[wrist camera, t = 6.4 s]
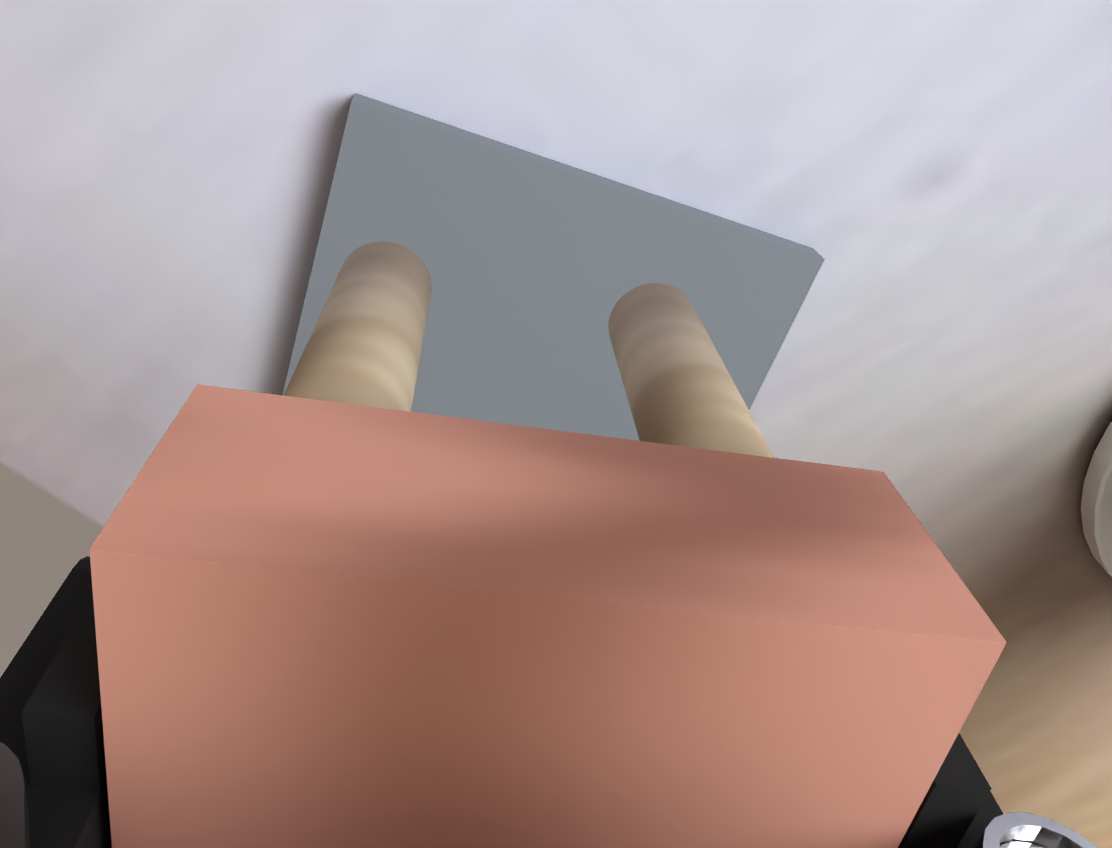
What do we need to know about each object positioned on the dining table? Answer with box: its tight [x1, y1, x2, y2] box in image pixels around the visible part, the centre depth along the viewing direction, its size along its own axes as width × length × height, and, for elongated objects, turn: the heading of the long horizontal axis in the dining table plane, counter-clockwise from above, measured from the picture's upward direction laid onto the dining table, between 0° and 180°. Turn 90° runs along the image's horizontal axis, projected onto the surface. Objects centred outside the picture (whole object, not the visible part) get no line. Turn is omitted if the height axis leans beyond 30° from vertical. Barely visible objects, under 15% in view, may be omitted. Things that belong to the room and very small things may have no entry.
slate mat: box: [282, 94, 824, 441], centre depth 28 cm, size 14×14×1 cm
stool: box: [90, 241, 1007, 848], centre depth 11 cm, size 6×6×8 cm
